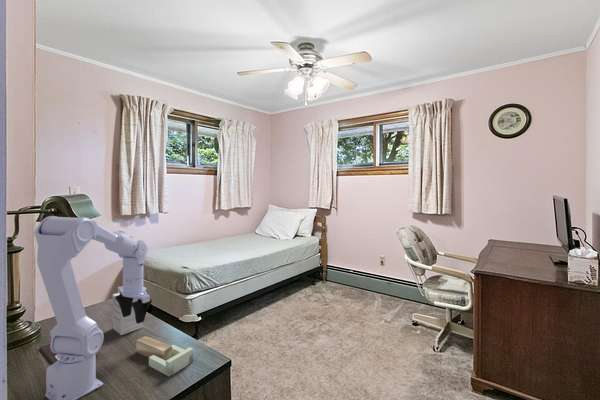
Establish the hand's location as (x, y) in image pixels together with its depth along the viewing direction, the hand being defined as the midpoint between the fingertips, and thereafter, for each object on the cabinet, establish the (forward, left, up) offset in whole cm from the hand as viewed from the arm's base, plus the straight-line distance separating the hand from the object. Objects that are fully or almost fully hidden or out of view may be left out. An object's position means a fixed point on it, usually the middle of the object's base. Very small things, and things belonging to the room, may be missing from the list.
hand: (133, 319), depth 95 cm
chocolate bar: (-13, +12, -9) cm, 20 cm away
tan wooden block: (0, -11, -9) cm, 14 cm away
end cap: (0, -19, -8) cm, 21 cm away
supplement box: (+5, +12, -9) cm, 15 cm away
